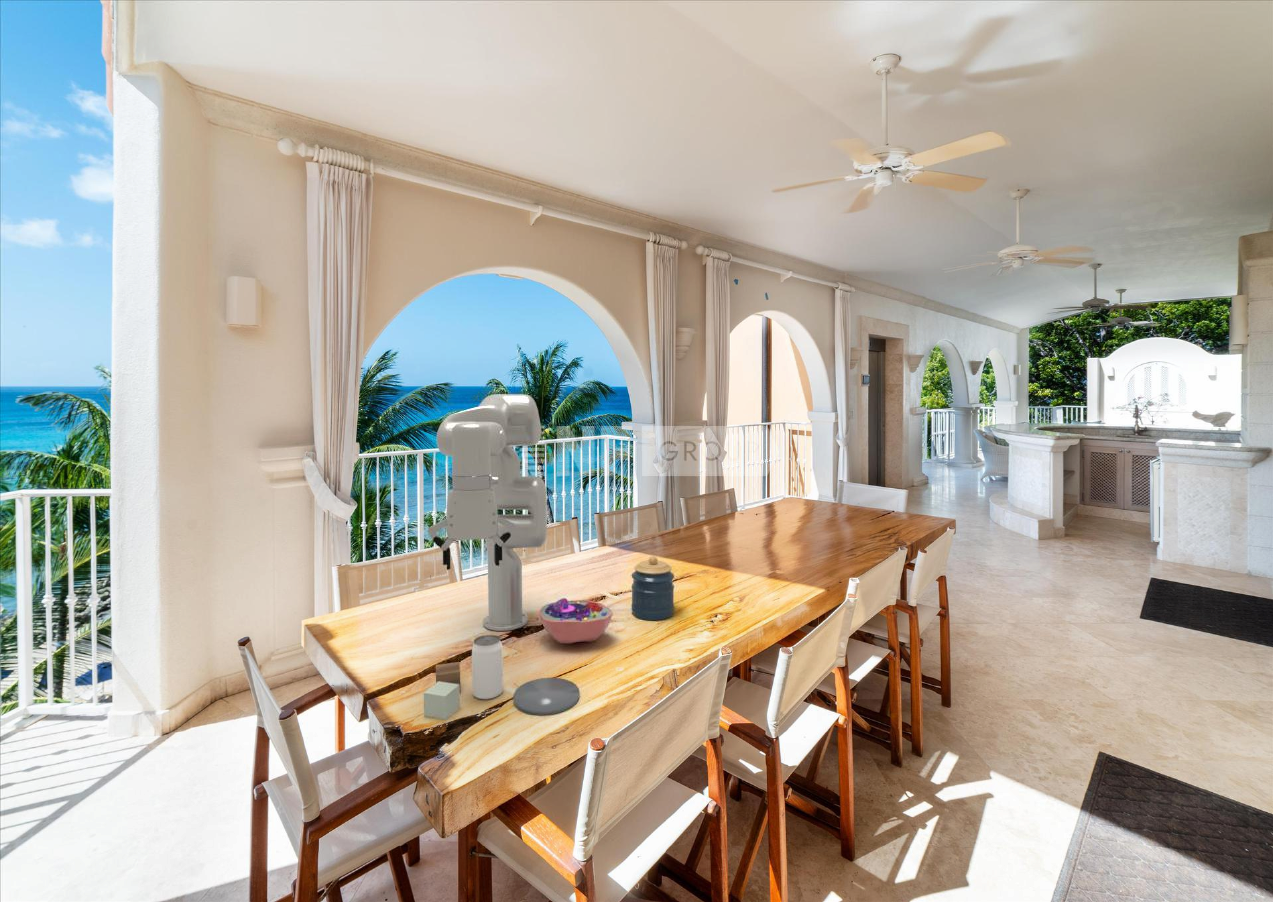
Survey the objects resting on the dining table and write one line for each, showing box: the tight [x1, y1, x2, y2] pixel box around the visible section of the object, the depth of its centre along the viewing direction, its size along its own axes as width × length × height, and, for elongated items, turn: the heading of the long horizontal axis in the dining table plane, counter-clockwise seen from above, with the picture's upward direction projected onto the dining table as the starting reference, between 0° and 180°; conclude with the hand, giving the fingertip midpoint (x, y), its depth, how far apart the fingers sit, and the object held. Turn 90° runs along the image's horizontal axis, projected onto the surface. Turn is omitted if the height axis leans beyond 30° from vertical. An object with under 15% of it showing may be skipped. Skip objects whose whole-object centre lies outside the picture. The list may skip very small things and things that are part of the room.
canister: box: [630, 555, 675, 621], centre depth 171 cm, size 13×13×18 cm
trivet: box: [513, 677, 580, 716], centre depth 122 cm, size 14×14×1 cm
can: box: [471, 634, 504, 701], centre depth 124 cm, size 6×6×12 cm
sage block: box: [423, 681, 461, 721], centre depth 116 cm, size 5×5×5 cm
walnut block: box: [435, 661, 462, 694], centre depth 125 cm, size 5×5×5 cm
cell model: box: [538, 597, 614, 644], centre depth 151 cm, size 17×20×11 cm
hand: (473, 566), depth 117 cm, fingers open, 9 cm apart
